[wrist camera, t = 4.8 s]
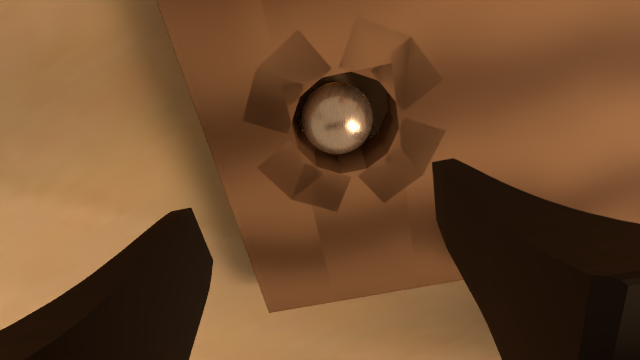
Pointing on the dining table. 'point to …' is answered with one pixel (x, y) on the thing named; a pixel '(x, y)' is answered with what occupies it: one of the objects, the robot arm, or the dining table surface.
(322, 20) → the board
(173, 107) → the dining table surface
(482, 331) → the dining table surface
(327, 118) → the steel ball
